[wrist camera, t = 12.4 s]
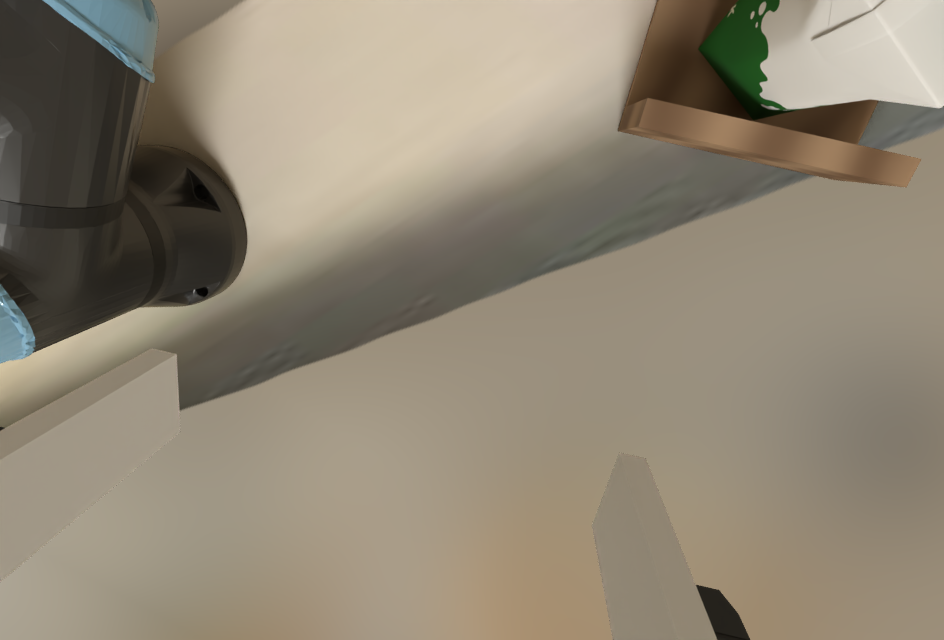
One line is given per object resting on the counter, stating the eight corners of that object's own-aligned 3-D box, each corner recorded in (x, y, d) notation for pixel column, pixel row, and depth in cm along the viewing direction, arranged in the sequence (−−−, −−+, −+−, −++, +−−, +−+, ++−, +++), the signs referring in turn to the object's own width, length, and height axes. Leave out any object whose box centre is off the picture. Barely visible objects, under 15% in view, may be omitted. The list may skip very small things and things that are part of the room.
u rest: (617, 130, 38) (638, 126, 31) (688, -102, 33) (734, -174, 26) (833, 179, 38) (906, 187, 31) (943, -49, 32) (1064, -106, 25)
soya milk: (749, 138, 37) (976, 127, 18) (678, 47, 35) (847, -66, 17) (856, 47, 34) (1254, -75, 15) (784, -55, 32) (1130, -330, 14)
